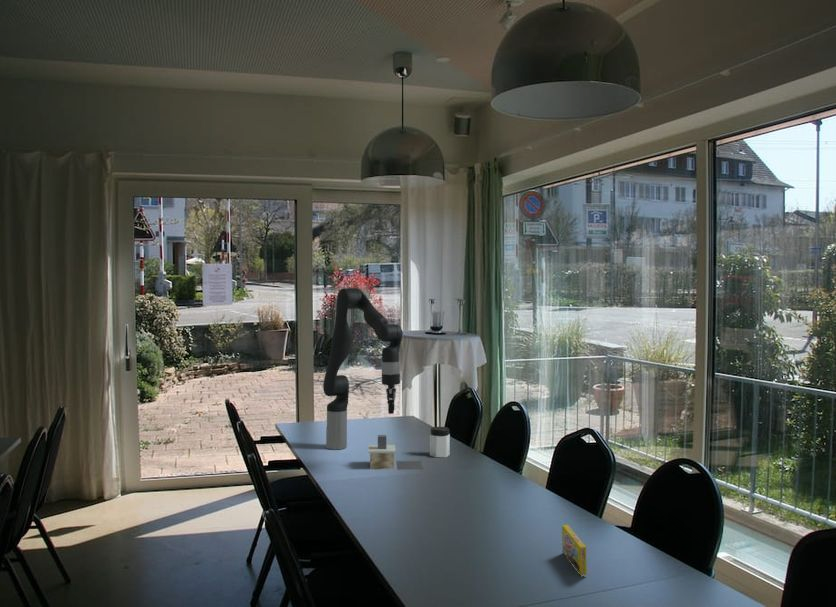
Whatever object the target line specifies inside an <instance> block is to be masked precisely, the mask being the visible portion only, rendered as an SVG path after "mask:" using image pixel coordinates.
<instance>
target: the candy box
mask: <svg viewBox="0 0 836 607" xmlns="http://www.w3.org/2000/svg"><path fill="white" fill-rule="evenodd" d="M561 534H562V536H561V538H562V539H561V541H562V545H561V546H562V553H563V552H564V553H565V554H566V556H567V557H568V559H569V560H570V561H571V563H572V564H573V565H574V567H575V568H576V569H577V571H578V572H579V573H580V575H583V574H584V575H586V574H587V546H586V545H585V544H584V542H583V541H582V540H581V539H580V538H579V536H578V535H577V534H576V532H574V531H573V529H572V528H571V527H570V525H569V524H563V525H561ZM568 559H567V560H568Z"/></svg>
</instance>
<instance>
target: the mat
mask: <svg viewBox="0 0 836 607" xmlns="http://www.w3.org/2000/svg"><path fill="white" fill-rule="evenodd" d="M396 467H397V470H424V467H423V464H422V460H397V461H396Z"/></svg>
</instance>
